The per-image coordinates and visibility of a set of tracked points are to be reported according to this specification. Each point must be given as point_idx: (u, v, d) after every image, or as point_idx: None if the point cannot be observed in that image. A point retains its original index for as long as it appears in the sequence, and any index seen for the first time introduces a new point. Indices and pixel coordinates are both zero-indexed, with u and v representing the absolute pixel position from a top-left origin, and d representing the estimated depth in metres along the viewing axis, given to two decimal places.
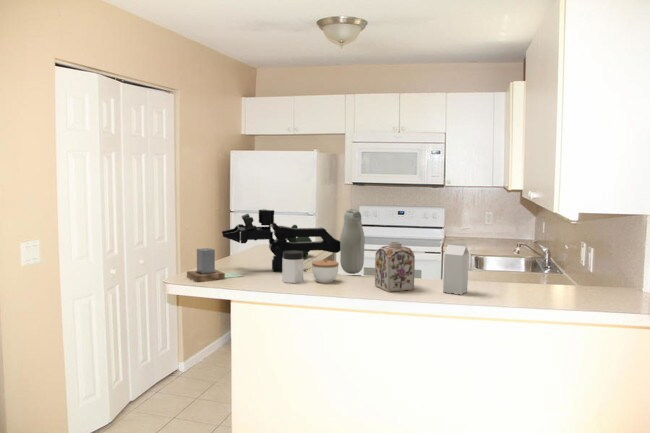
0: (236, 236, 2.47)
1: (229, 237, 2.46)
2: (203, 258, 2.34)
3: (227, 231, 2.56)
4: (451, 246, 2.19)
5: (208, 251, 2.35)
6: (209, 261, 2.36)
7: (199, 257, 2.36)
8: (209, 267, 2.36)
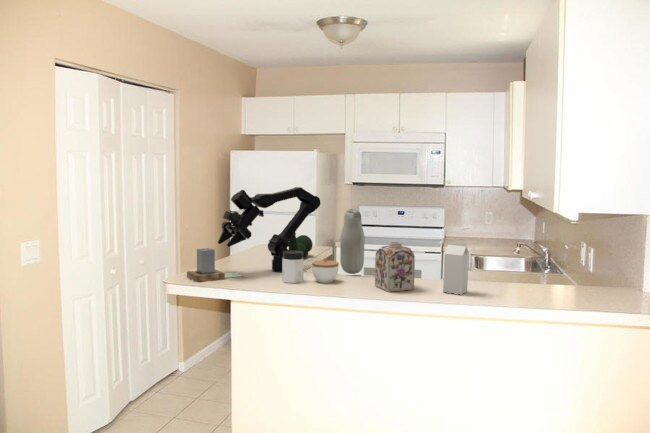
0: (238, 237, 2.39)
1: (234, 243, 2.38)
2: (203, 258, 2.34)
3: (221, 238, 2.46)
4: (451, 246, 2.19)
5: (208, 251, 2.35)
6: (209, 261, 2.36)
7: (199, 257, 2.36)
8: (209, 267, 2.36)
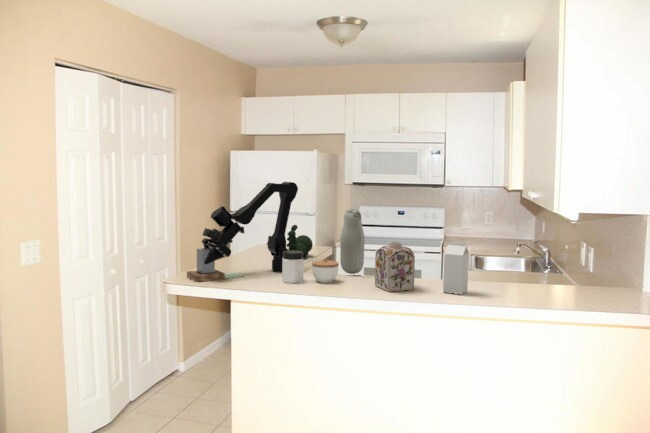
0: (216, 254, 2.36)
1: (212, 260, 2.35)
2: (203, 258, 2.34)
3: None
4: (451, 246, 2.19)
5: (208, 251, 2.35)
6: None
7: (199, 257, 2.36)
8: (209, 267, 2.36)
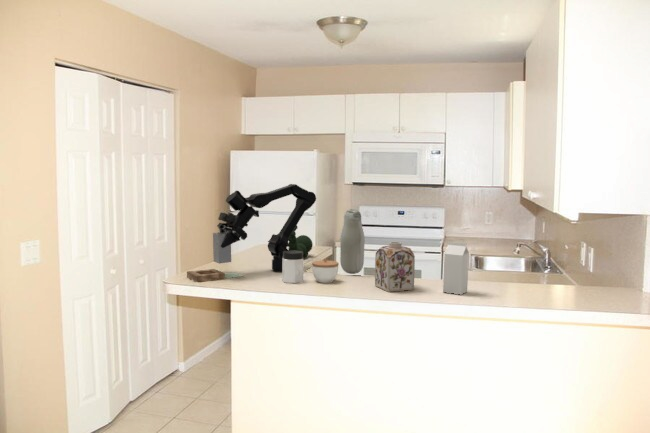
0: (232, 237, 2.39)
1: (228, 243, 2.39)
2: (220, 241, 2.38)
3: None
4: (451, 246, 2.19)
5: (224, 235, 2.39)
6: None
7: (215, 241, 2.40)
8: (225, 250, 2.39)
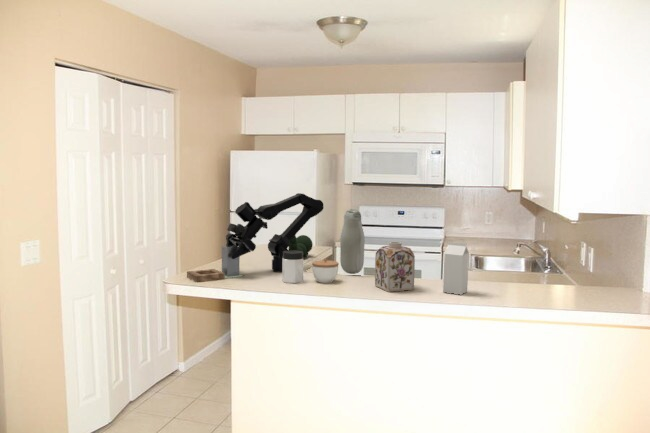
0: (243, 249, 2.40)
1: (238, 255, 2.40)
2: (229, 255, 2.40)
3: None
4: (451, 246, 2.19)
5: (233, 248, 2.41)
6: None
7: (224, 254, 2.42)
8: (234, 263, 2.42)
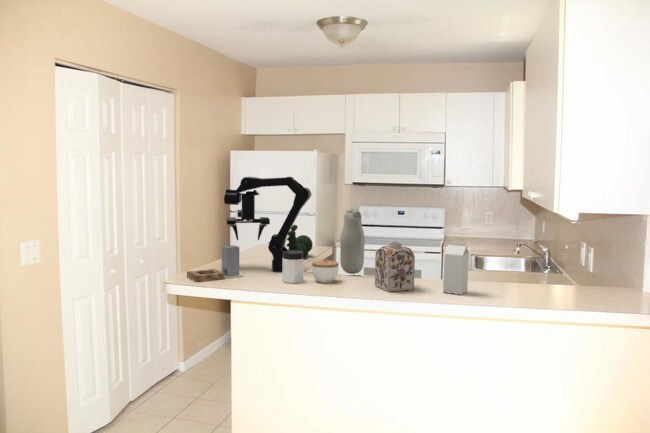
0: None
1: (235, 234, 2.57)
2: (228, 255, 2.40)
3: (258, 234, 2.60)
4: (451, 246, 2.19)
5: (233, 248, 2.41)
6: (234, 258, 2.42)
7: (224, 254, 2.42)
8: (233, 263, 2.42)
